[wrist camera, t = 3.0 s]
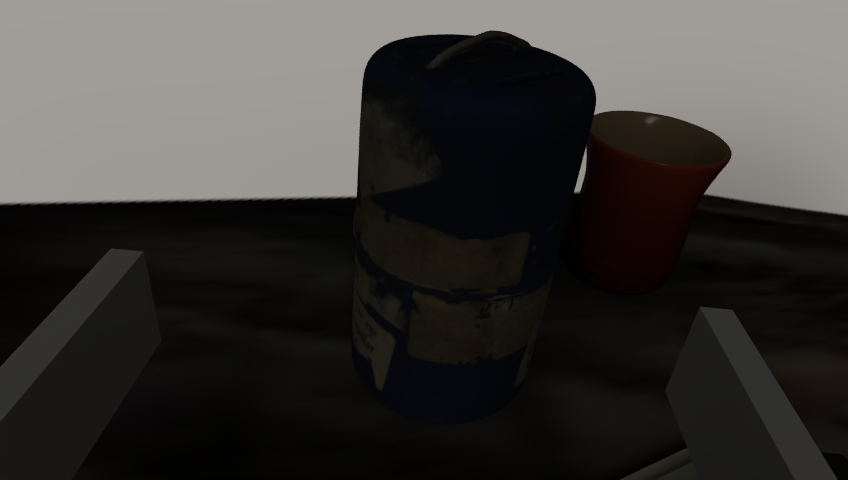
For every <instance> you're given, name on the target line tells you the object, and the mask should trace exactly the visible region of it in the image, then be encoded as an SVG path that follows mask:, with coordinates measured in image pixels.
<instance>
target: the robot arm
mask: <svg viewBox="0 0 848 480" xmlns="http://www.w3.org/2000/svg"><path fill="white" fill-rule="evenodd" d="M160 342H161V337H160V332H159V327H158V322H157V317H156V312H155V307H154V302H153V297H152V292H151V287H150V282H149V277H148V272H147V267H146V262H145V257H144V252H141V251H130V250H120V249H110V250H109V251H108V252H107V254H106V255H105V256H104V257H103V258H102V259H101V260H100V261H99V262H98V263H97V264H96V265H95V266H94V267H93V269H92V270H91V271H90V272H89V273H88V274H87V275H86V276H85V277H84V278H83V279H82V280H81V281H80V282H79V283H78V285H77V286H76V287H75V288H74V289H73V290H72V291H71V292H70V293H69V294H68V295H67V296H66V297H65V298H64V299H63V301H62V302H61V303H60V304H59V305H58V306H57V307H56V308H55V309H54V310H53V311H52V312H51V313H50V314H49V315H48V317H47V318H46V319H45V320H44V321H43V322H42V323H41V324H40V325H39V326H38V327H37V328H36V329H35V330H34V331H33V333H32V334H31V335H30V336H29V337H28V338H27V339H26V340H25V341H24V342H23V343H22V344H21V345H20V346H19V347H18V349H17V350H16V351H15V352H14V353H13V354H12V355H11V356H10V357H9V358H8V359H7V360H6V361H5V362H4V364H3V365H2V366H1V367H0V480H72V478H73V477H74V475H75V474H76V472H77V470H78V469H79V467H80V466H81V464H82V463H83V461H84V460H85V458H86V456H87V455H88V453H89V452H90V450H91V449H92V447H93V446H94V444H95V443H96V441H97V439H98V438H99V436H100V435H101V433H102V432H103V430H104V429H105V427H106V425H107V424H108V422H109V421H110V419H111V418H112V416H113V415H114V413H115V412H116V410H117V408H118V407H119V405H120V404H121V402H122V401H123V399H124V398H125V396H126V394H127V393H128V391H129V390H130V388H131V387H132V385H133V384H134V382H135V381H136V379H137V377H138V376H139V374H140V373H141V371H142V370H143V368H144V367H145V365H146V363H147V362H148V360H149V359H150V357H151V356H152V354H153V353H154V351H155V349H156V348H157V346H158V345H159V343H160ZM665 392H666V394H667V397H668V399H669V402H670V404H671V407H672V409H673V412H674V415H675V417H676V420H677V422H678V425H679V427H680V430H681V432H682V435H683V437H684V440H685V443H686V445H687V448H688V450H689V453H690V455H691V458H692V460H693V463H694V465H695V468H696V471H697V473H698V476H699V478H700V480H848V460H847V459H846V458H845V457H844V456H843V455H842V454H832V453H822V452H820V451H819V449H818V447H817V446H816V444H815V442H814V441H813V439H812V438H811V436H810V434H809V433H808V431H807V430H806V428H805V426H804V425H803V423H802V421H801V420H800V418H799V417H798V415H797V413H796V412H795V410H794V409H793V407H792V405H791V404H790V402H789V400H788V399H787V397H786V396H785V394H784V392H783V391H782V389H781V388H780V386H779V384H778V383H777V381H776V380H775V378H774V376H773V375H772V373H771V371H770V370H769V368H768V367H767V365H766V363H765V362H764V360H763V359H762V357H761V355H760V354H759V352H758V350H757V349H756V347H755V346H754V344H753V342H752V341H751V339H750V338H749V336H748V334H747V333H746V331H745V329H744V328H743V326H742V325H741V323H740V321H739V320H738V318H737V317H736V315H735V313H734V312H733V310H726V309H716V308H706V307H700V308H699V310H698V313H697V315H696V318H695V320H694V322H693V325H692V327H691V330H690V332H689V334H688V337H687V339H686V342H685V344H684V346H683V349H682V351H681V354H680V356H679V358H678V361H677V363H676V366H675V368H674V370H673V373H672V375H671V378H670V380H669V382H668V385H667V387H666V390H665Z"/></svg>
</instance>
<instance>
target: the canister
mask: <svg viewBox="0 0 848 480" xmlns="http://www.w3.org/2000/svg"><path fill="white" fill-rule="evenodd" d="M595 106H596V93H595V89H594V86H593V84H592V82H591V80H590V79H589V77H588V76H587V75H586V74H585V73H584V72H583V71H582V70H581V69H580V68H579V67H577V66H576V65H574V64H573V63H571V62H569V61H567V60H566V59H563V58H561V57H559V56H557V55H555V54H553V53H550V52H548V51H544V50H542V49H539V48H536V47H532V46H531V45H530V44H529V43H528V42H526V41H525V40H523V39H520V38H518V37H516V36H514V35H512V34H509V33H506V32H501V31H487V32H484V33H481V34H479V35H476V36H469V35H453V34H449V35H448V34H445V35H424V36H415V37H409V38H404V39H400V40H396V41H393V42H391V43H389V44H387V45H385V46H383V47H381V48H380V49H379V50H378V51H376V52H375V53H374V54H373V55H372V57H371V58H370V60H369V61H368V63H367V66H366V68H365V72H364V78H363V86H362V101H361V118H360V136H359V160H358V186H357V200H356V209H355V214H354V220H353V234H354V236H355V238H356V248H355V266H354V277H353V282H354V293H353V314H352V357H353V361H354V365H355V368H356V370H357V373H358V375H359V377H360V379H361V380H362V382H363V384H364V385H365V387H366V388H367V389H368V390H369V391H370V392H371V393H372V394H373V395H374V396H375V397H376V398H377V399H378V400H380V401H381V402H382V403H384V404H385V405H387V406H388V407H390V408H391V409H393V410H395V411H397V412H399V413H401V414H404V415H406V416H409V417H411V418H415V419H418V420H422V421H427V422H433V423H448V424H452V423H463V422H469V421H474V420H477V419H481V418H484V417H487V416H489V415H491V414H493V413H495V412H497V411H498V410H500V409H501V408H503V407H504V406H505V405H507V404H508V403H509V402H510V401H511V400H512V399H513V398H514V396H515V395H516V394H517V392H518V391H519V390H520V388H521V386H522V384H523V382H524V380H525V377H526V375H527V372H528V369H529V365H530V361H531V357H532V353H533V349H534V346H535V342H536V338H537V334H538V331H539V327H540V324H541V320H542V316H543V312H544V308H545V304H546V300H547V296H548V293H549V289H550V286H551V282H552V278H553V274H554V270H555V266H556V260H557V254H558V251H559V247H560V243H561V239H562V235H563V231H564V227H565V223H566V220H567V216H568V212H569V209H570V205H571V201H572V198H573V194H574V190H575V186H576V183H577V179H578V175H579V171H580V167H581V163H582V160H583V156H584V152H585V148H586V144H587V141H588V137H589V133H590V129H591V125H592V121H593V117H594V111H595Z"/></svg>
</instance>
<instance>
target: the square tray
mask: <svg viewBox="0 0 848 480" xmlns="http://www.w3.org/2000/svg"><path fill="white" fill-rule="evenodd" d="M620 480H700V478H699V476H698V473H697V471H696V468H695V465H694V463H693V460H692V458H691V455H690V453H689V450H688V448H685V449H683V450H681V451H679V452H677V453H675V454H673V455H671V456H669V457H667V458H664V459H662V460H660V461H658V462H656V463H654V464H652V465H650V466H648V467H646V468H643V469H641V470H639V471H637V472H635V473H633V474H631V475H629V476H627V477H625V478H622V479H620Z"/></svg>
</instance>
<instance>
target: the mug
mask: <svg viewBox="0 0 848 480" xmlns="http://www.w3.org/2000/svg"><path fill="white" fill-rule="evenodd" d="M586 147H587V148H586V149H587V163H586V172H585V177H584V181H583V184H582V188H581V191H580V194H579V197H578V200H577V204H576V207H575V211H574V215H573V218H572V222H571V225H570V227H569V231H568V235H569V238H568V242H567V246H568V251H567V256H568V260H569V262H570V264H571V266H572V267H573V269H574V270H575V271H576V272H577V273H578V274H579V275H580V276H581V277H582V278H584V279H585V280H586V281H588V282H589V283H591V284H593V285H594V286H596V287H598V288H601V289H603V290H606V291H610V292H613V293H618V294H626V295H637V294H644V293H649V292H652V291H655V290H657V289H659V288H660V287H662V286H663V285H664V283H665V282H666V280H667V278H668V277H669V275H670V274H671V272H672V270H673V269H674V267H675V266H676V265H677V263H678V262H679V259H680V254H681V251H682V249H683V246H684V244H685V241H686V238H687V235H688V233H689V230H690V227H691V223H692V220H693V217H694V214H695V211H696V209H697V206H698V204H699V202H700V200H701V198H702V196H703V194H704V193H705V191H706V190H707V188H708V187H709V186H710V184H711V183H712V182H713V180H714V179H715V178H716V177H717V175H718V174H719V173H720V172H721V171H722V169H723V168H724V167H725V166H726V165H727V163H728V162H729V160H730V159H731V150H730V148H729V146H728V145H727V144H726V143H725V142H724V141H723V140H722V139H721V138H720V137H718V136H717V135H715V134H714V133H712V132H710V131H708V130H705V129H703V128H701V127H699V126H696V125H694V124H691V123H688V122H686V121H682V120H679V119H676V118H673V117H668V116H664V115H658V114H653V113H646V112H637V111H610V112H603V113H599V114H596V115H594V117H593V121H592V125H591V129H590V133H589V137H588V141H587V144H586Z"/></svg>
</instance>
